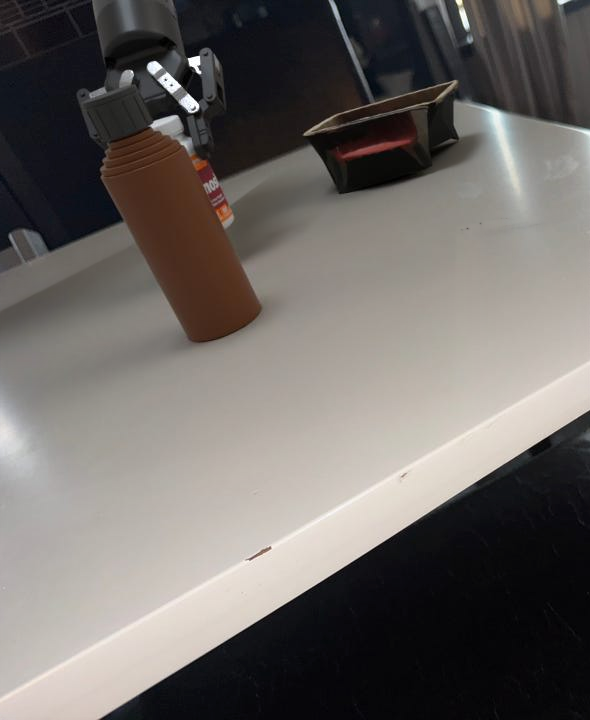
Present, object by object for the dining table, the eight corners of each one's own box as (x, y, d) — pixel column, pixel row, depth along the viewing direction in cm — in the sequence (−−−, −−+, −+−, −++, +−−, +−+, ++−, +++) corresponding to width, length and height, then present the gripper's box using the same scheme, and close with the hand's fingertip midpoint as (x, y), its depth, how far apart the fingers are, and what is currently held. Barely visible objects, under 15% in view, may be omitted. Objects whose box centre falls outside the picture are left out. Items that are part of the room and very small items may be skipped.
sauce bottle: (177, 349, 62) (51, 123, 53) (201, 314, 67) (90, 104, 58) (251, 329, 61) (136, 96, 52) (269, 295, 66) (167, 79, 57)
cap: (92, 146, 55) (71, 107, 53) (114, 133, 58) (95, 96, 57) (142, 130, 54) (122, 91, 53) (161, 118, 58) (143, 80, 56)
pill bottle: (227, 234, 74) (173, 122, 68) (168, 251, 75) (110, 142, 69) (242, 212, 79) (193, 107, 74) (187, 229, 80) (134, 125, 75)
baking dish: (373, 171, 101) (332, 101, 96) (492, 122, 93) (455, 43, 88) (331, 223, 90) (284, 147, 85) (463, 173, 82) (418, 86, 77)
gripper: (45, 21, 73) (71, 171, 68) (188, -28, 73) (224, 120, 68) (91, 69, 80) (118, 208, 76) (222, 26, 80) (256, 162, 75)
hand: (168, 166), depth 72 cm, fingers closed on pill bottle, 6 cm apart
